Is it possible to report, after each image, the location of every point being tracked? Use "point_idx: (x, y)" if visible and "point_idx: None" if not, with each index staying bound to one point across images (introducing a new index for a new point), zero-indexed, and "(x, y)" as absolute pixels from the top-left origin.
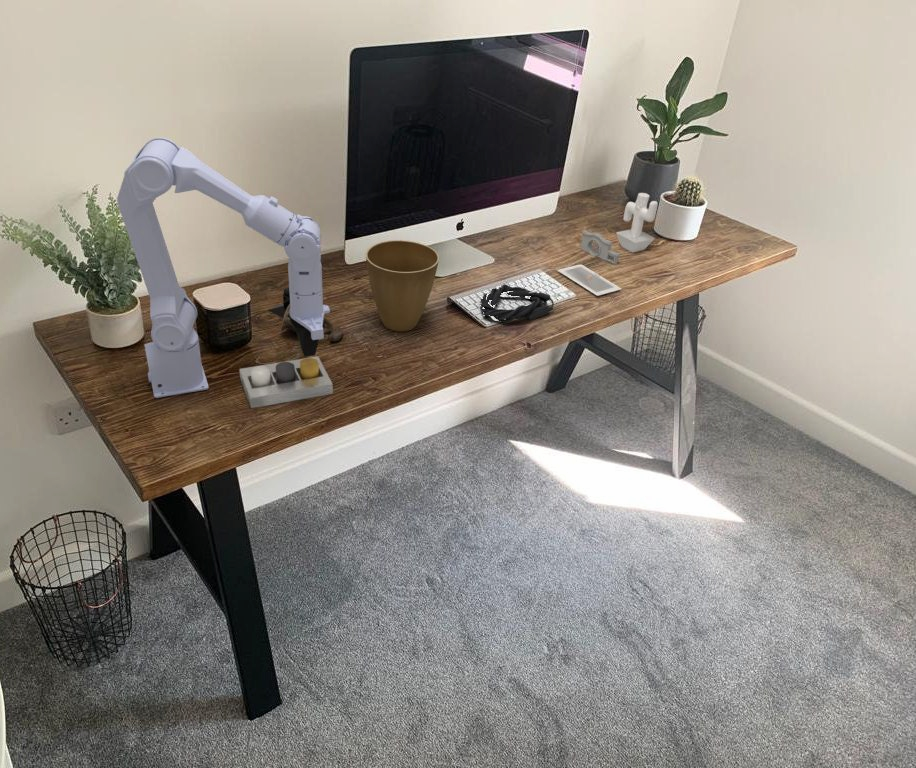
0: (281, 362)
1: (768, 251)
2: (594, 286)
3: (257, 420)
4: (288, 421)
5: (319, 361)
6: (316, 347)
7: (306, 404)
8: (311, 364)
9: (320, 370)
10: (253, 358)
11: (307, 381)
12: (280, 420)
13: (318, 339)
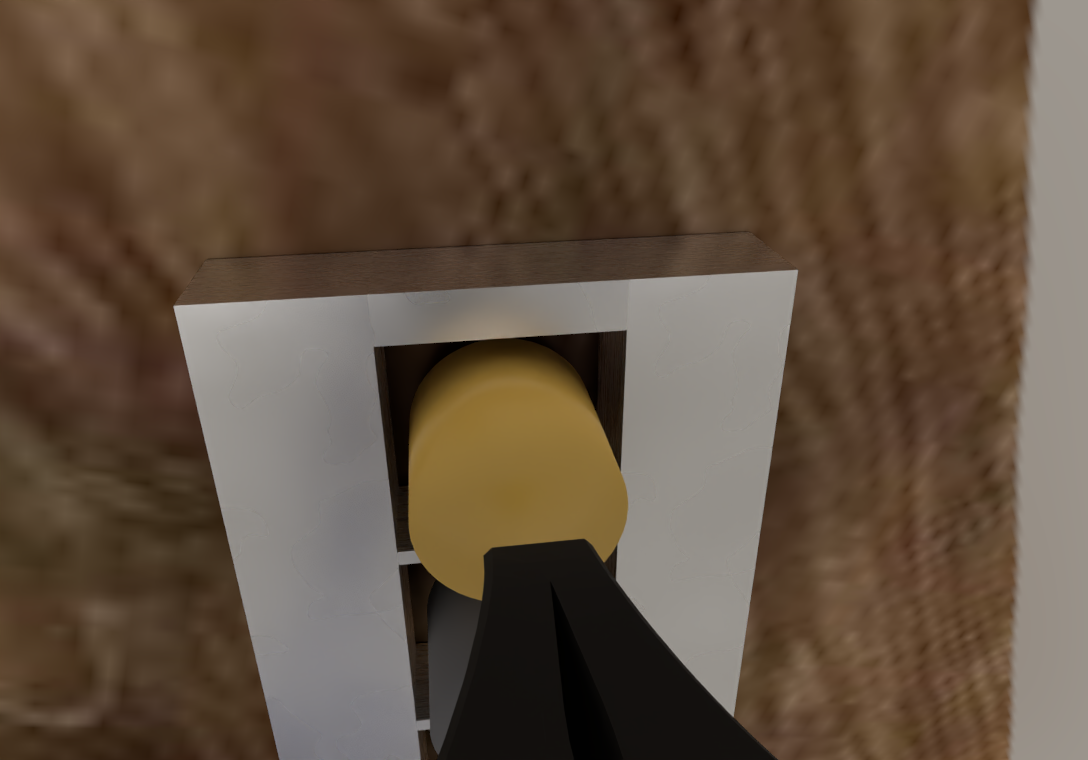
0: (434, 743)
1: None
2: None
3: (821, 732)
4: (923, 588)
5: (304, 312)
6: (639, 617)
7: (798, 461)
8: (564, 500)
9: (500, 337)
10: (14, 740)
11: (661, 486)
12: (888, 627)
13: (760, 749)
